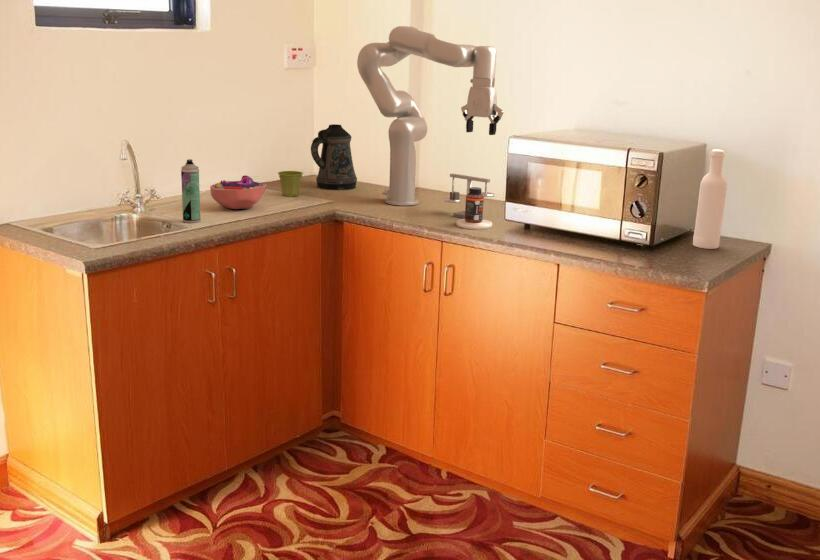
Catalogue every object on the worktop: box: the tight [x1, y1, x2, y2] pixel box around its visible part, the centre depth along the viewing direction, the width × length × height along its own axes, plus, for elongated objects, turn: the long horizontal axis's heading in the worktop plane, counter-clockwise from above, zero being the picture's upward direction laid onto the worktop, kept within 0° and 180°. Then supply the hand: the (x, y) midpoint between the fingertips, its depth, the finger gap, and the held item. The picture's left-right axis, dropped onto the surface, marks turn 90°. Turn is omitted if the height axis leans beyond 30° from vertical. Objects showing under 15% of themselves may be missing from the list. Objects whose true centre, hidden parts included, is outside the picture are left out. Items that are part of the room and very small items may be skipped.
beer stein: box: [310, 123, 358, 191], centre depth 347 cm, size 16×19×25 cm
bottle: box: [692, 149, 728, 250], centre depth 266 cm, size 8×8×30 cm
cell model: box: [209, 175, 268, 210], centre depth 301 cm, size 17×20×11 cm
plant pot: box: [277, 170, 304, 198], centre depth 329 cm, size 9×9×9 cm
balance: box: [443, 173, 495, 219], centre depth 300 cm, size 20×6×14 cm, turn 50°
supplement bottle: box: [464, 186, 485, 223], centre depth 286 cm, size 6×6×11 cm
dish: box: [455, 218, 493, 231], centre depth 288 cm, size 12×12×1 cm
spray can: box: [180, 158, 201, 224], centre depth 277 cm, size 6×6×20 cm
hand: (480, 133), depth 301 cm, fingers open, 9 cm apart
